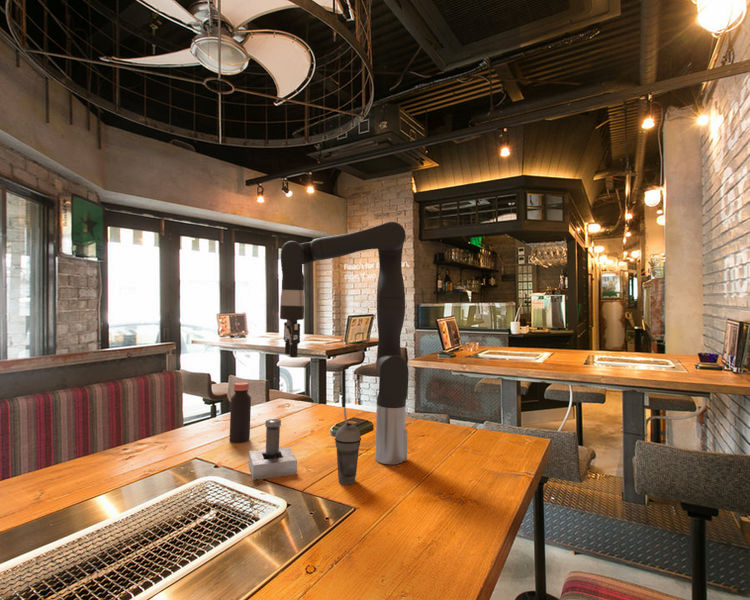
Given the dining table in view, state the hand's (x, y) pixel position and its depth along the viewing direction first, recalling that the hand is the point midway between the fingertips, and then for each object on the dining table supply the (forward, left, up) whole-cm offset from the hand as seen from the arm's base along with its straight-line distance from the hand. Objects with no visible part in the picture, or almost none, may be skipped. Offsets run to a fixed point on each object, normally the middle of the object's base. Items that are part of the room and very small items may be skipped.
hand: (290, 355), depth 128 cm
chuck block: (+6, +8, -32) cm, 34 cm away
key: (+6, +8, -32) cm, 34 cm away
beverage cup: (-12, +23, -32) cm, 41 cm away
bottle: (+13, -22, -32) cm, 41 cm away
